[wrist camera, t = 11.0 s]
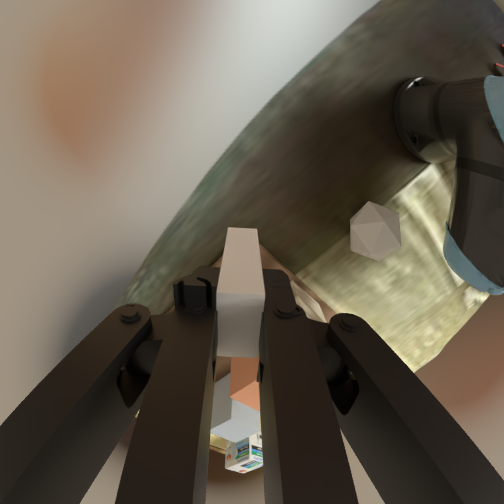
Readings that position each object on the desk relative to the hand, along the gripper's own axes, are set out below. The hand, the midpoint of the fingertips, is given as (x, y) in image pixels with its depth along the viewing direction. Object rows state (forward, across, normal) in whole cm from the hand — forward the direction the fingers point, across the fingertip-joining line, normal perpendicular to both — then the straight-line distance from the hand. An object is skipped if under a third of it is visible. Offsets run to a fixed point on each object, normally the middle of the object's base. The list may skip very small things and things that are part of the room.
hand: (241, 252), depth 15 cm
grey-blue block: (+25, 0, -41) cm, 48 cm away
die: (+27, +20, -5) cm, 34 cm away
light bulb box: (+27, +4, -68) cm, 73 cm away
